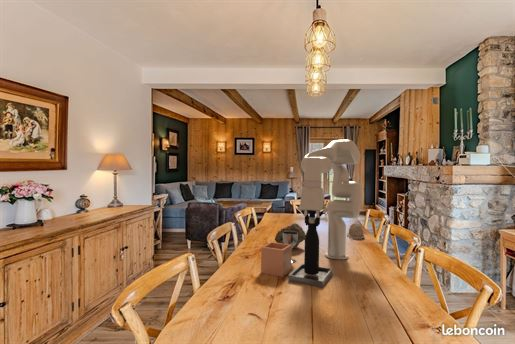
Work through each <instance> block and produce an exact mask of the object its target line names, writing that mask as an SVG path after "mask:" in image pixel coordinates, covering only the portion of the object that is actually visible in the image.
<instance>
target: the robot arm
mask: <svg viewBox="0 0 515 344" xmlns="http://www.w3.org/2000/svg"><path fill="white" fill-rule="evenodd" d="M300 162H301V163H300V168H301V170H302V172H303V173H304V174H303V175H304V178H303V179H304V180H303V181H301V182H300V183H301V185H302V186H303V187H302V189H301V192H300V193H301V194H300V201H299V205H298V206H297V210H298V211H299V212H300V213H301V214H302V215H303V217H304V224H305V226H307V227H308V223H309V222H308V221H309V218H310V215H309V213H308V210H312V211H316V214H315V226H316V228H317V227H319V225H321V217H322V216H323V215H324V214H325V213H327V220H328V222H327V224H328V225H327V227H328V229H327V251H326V252H324V257H326V258H328V259H332V260H341V261H342V260H347V259H349V254H348V253H346V251H347V250H346V248H347V247H346V244H347V238H346V237H347V225H346V221H344V218H345V219H357V218H359V216H360V212H361V205H362V204H361V203H362V185H361V183H359V182H357V181H354V180H353V181H349V177H350V173H349V171H348V169H347V167H346V166H345V165H358V164H360V162H361V152H360V150H359V148H358V146H357V145H356V143H355V142H354V141H353V140H351V139H335V140H332V141H330V142H329V143H327V145H325V146H324V147H323V148H320V149H317V150H313V151H310V152H308V153H307V154H305V156H304V157H303V158H302V160H301V161H300ZM331 170H332V172H333V176H332V186H331V195H332V196H333V197H335V198H338V199H331V200H329V201H328V202H327V203H325V194H324V188H323V187H322V174H328V173H330V172H331ZM345 199H346V200H345ZM347 199H350V200H347ZM325 204H326V205H325Z"/></svg>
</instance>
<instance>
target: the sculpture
mask: <svg viewBox="0 0 515 344" xmlns="http://www.w3.org/2000/svg"><path fill="white" fill-rule="evenodd" d="M364 233H365V232H364V229H363V226H362V225H361V224H359V223H358V222H355V223H351V224H350V225H349V228H348V232H346V237H347V238H348V237H349V239H351V238H354V239H353V240H363V239H362V238H365V234H364Z"/></svg>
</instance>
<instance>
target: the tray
mask: <svg viewBox="0 0 515 344" xmlns="http://www.w3.org/2000/svg"><path fill="white" fill-rule="evenodd" d="M332 275H333V268H331V267H326V266H325V267H324V266H319V273H318V274H316V275H310V274H306V273H305V272H304V263H301V264H299V266H298V267H296V268H295V269H293V271H291V272H290V273H289V274H288V276H287V277H288V279H287V280H288V282H290V283H291V282H292V283H297V284H302V285H307V286H312V287H319V288H324V286H326V284H327V282H328V281H329V280H330V278H331V277H332Z"/></svg>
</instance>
